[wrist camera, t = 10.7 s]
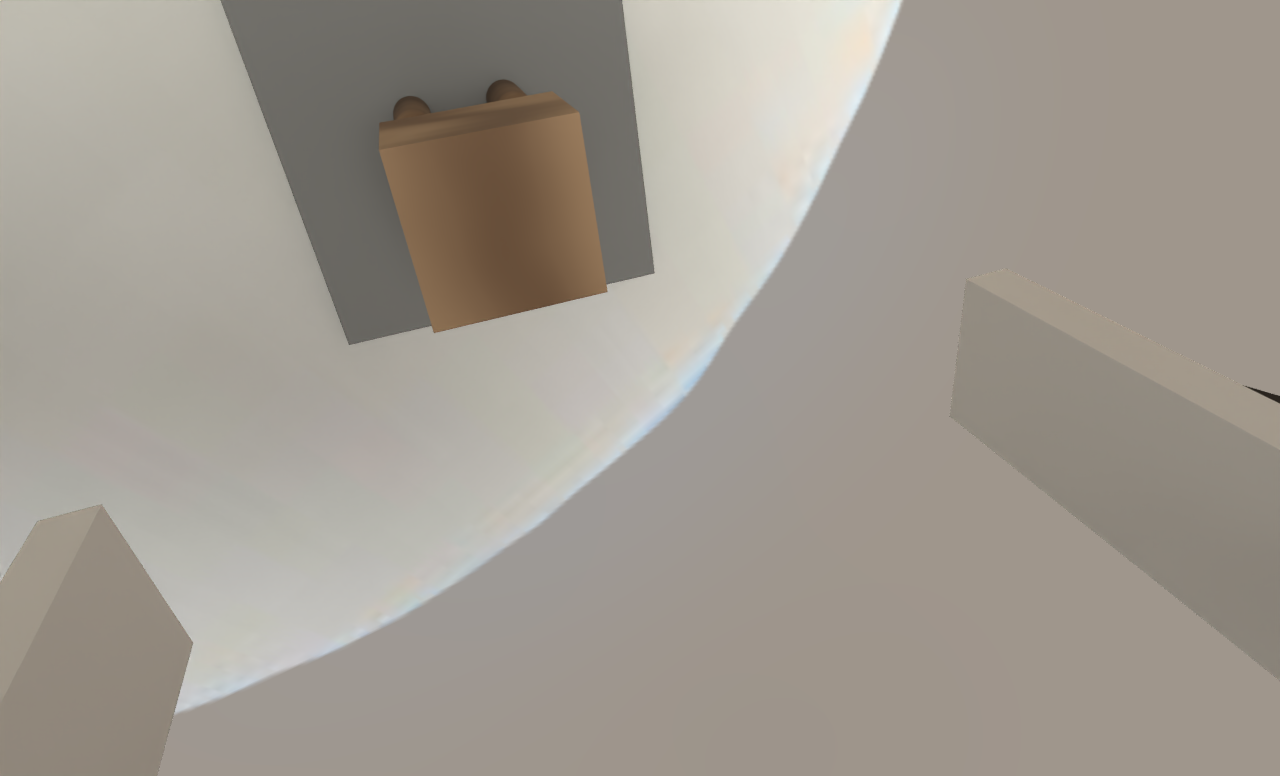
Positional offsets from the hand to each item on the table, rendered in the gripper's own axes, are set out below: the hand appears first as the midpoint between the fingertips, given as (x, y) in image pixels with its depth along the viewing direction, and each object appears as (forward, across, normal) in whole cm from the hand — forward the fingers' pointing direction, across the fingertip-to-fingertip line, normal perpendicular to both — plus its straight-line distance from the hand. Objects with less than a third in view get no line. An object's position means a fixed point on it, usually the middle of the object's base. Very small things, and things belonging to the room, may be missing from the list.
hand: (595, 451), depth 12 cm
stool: (+22, 0, 0) cm, 22 cm away
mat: (+23, 0, 0) cm, 23 cm away
